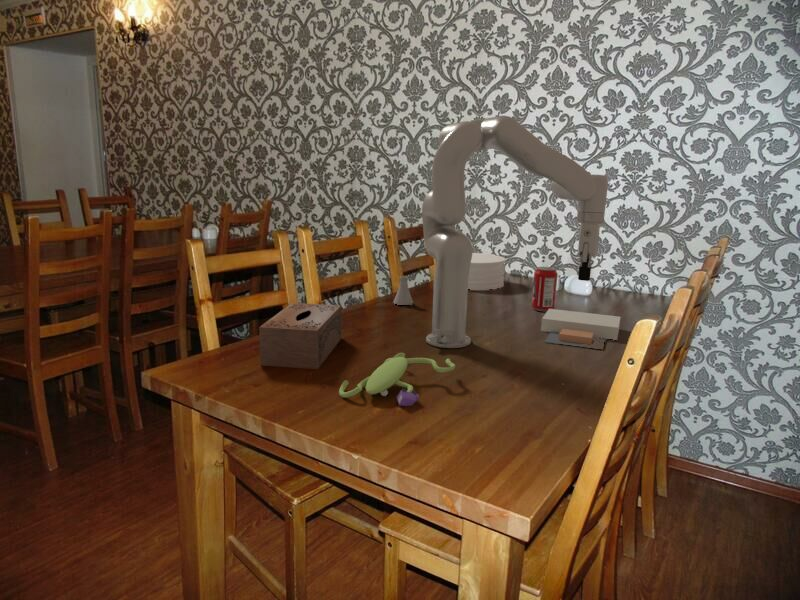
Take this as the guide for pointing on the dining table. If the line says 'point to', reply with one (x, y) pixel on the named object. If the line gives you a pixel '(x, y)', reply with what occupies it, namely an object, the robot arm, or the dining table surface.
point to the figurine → (393, 379)
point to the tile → (576, 336)
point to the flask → (403, 293)
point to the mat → (554, 338)
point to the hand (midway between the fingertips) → (583, 279)
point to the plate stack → (486, 272)
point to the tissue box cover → (300, 335)
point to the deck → (581, 323)
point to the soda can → (544, 289)
